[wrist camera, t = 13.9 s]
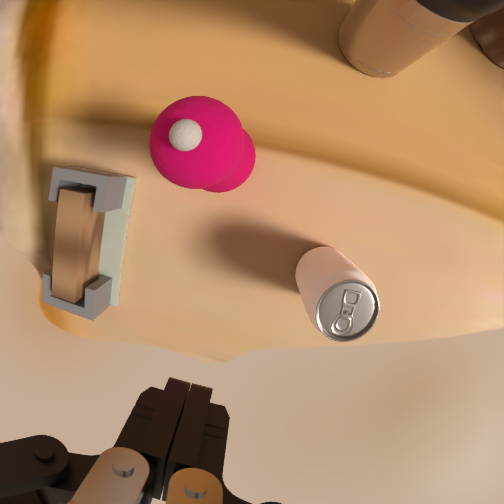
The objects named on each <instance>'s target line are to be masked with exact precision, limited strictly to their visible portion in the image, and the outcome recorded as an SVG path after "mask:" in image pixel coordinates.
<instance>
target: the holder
mask: <svg viewBox="0 0 504 504" xmlns="http://www.w3.org/2000/svg"><path fill="white" fill-rule="evenodd" d="M136 179H137V178H135V177H130V176H124V175H119V174H113V173H108V172H102V171H96V170H91V169H85V168H79V167H53V171H52V178H51V184H50V191H49V199H48V200H49V201H54V202H58V200H59V193H60V189H65V188H77V187H90V188H95V189H96V195H95V201H94V208H93V210H94V211H98V212H102V213H103V212H106V213H105V220H104V227H103V235H102V243H101V252H100V261H99V272H98V280H96V281H95V282H93V283H92V284H90V285H89V286H87V287H86V288H85V296H84V297H82V298H81V299H79V300H78V301H77V302H75V303H72V302H69V301H66V300H64V299H61V298H58V297H55V296H53V295H52V272H53V269H51V270H49V271H47V272H45V273H43V303H46V304H49V305H51V306H54V307H56V308H59V309H62V310H65V311H67V312H70V313H73V314H76V315H79V316H81V317H84V318H87V319H90V320H94V319H95V318H96V317H97V316H99V315H100V314H101V313H102V312H103V311H104V310H105V309H106V308H107V307H108V306H110V305H112V306H115V307H116V306H117V305H118V304H119V296H120V285H121V276H122V267H123V259H124V251H125V244H126V237H127V230H128V224H129V218H130V212H131V206H132V200H133V195H134V189H135V184H136Z"/></svg>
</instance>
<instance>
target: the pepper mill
mask: <svg viewBox="0 0 504 504" xmlns="http://www.w3.org/2000/svg"><path fill="white" fill-rule="evenodd" d="M150 153H151V157H152V160H153V162H154V165H155V166H156V168H157V169H158V171H159V172H160V173H161V174H162V175H163V176H164V177H165V178H166V179H168V180H169V181H170V182H172V183H174V184H176V185H179V186H181V187H185V188H190V189H204V190H206V191H210V192H219V193H220V192H227V191H230V190H233V189H235V188H237V187H238V186H240V185H241V184H242V183H244V182H245V181H246V179H247V178H248V177H249V176H250V174H251V172H252V170H253V167H254V164H255V156H256V154H255V148H254V144H253V142H252V140H251V138H250V136H249V135H248V133H247V132H246V131H245V130H244V129H243V128H242V126H241V123H240V121H239V119H238V117H237V116H236V114H235V113H234V112H233V111H232V110H231V109H230V108H229V107H228V106H226V105H225V104H224V103H222V102H221V101H218V100H216V99H213V98H210V97H206V96H191V97H187V98H183V99H180V100H178V101H176V102H174V103H172V104H171V105H169V106H168V107H167V108H166V109H165V110H163V111H162V112H161V114H160V115H159V116H158V118H157V120H156V121H155V123H154V126H153V128H152V131H151V135H150Z"/></svg>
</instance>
